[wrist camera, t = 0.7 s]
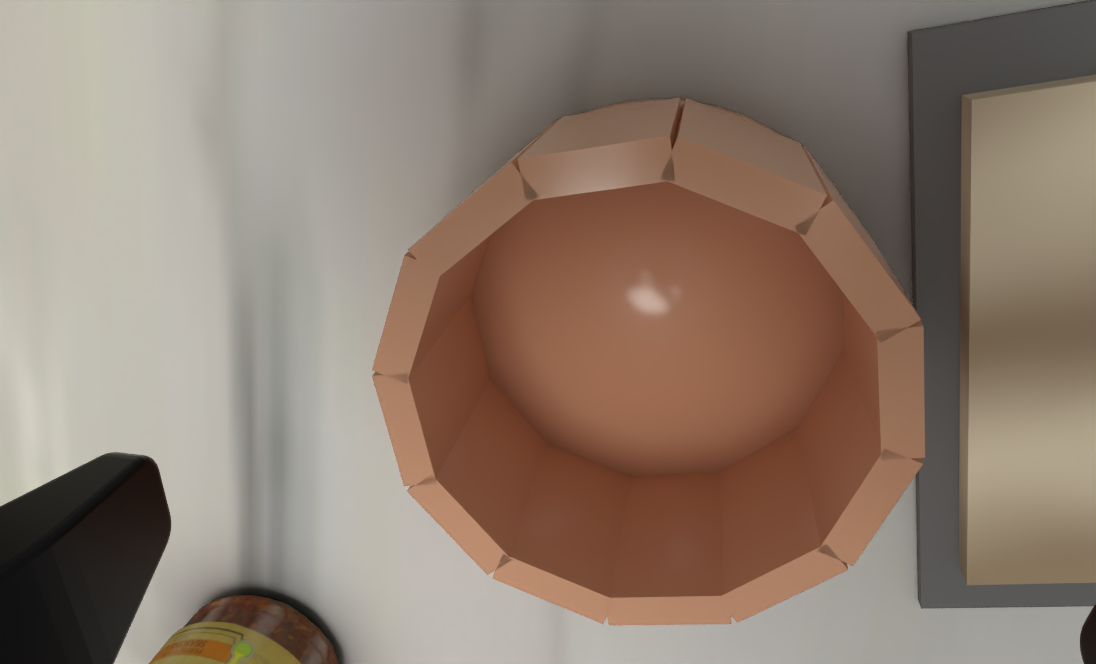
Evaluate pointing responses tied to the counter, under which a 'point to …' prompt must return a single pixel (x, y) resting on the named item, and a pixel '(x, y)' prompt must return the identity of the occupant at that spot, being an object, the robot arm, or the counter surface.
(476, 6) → the counter surface
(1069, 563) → the lid
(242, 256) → the counter surface
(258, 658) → the sauce bottle
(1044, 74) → the mat
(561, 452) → the bowl
